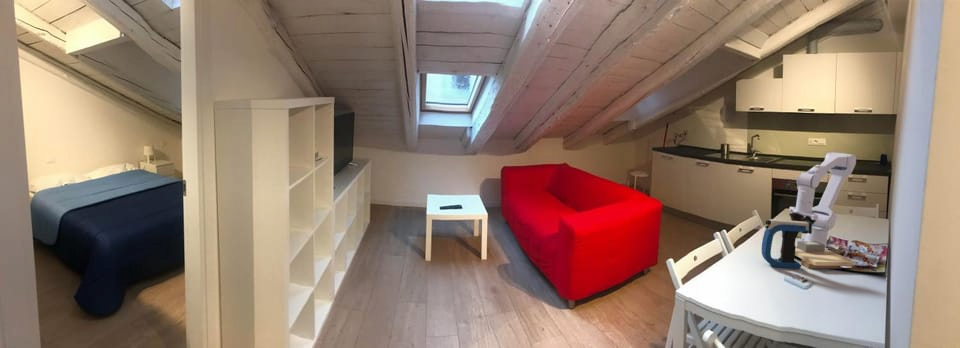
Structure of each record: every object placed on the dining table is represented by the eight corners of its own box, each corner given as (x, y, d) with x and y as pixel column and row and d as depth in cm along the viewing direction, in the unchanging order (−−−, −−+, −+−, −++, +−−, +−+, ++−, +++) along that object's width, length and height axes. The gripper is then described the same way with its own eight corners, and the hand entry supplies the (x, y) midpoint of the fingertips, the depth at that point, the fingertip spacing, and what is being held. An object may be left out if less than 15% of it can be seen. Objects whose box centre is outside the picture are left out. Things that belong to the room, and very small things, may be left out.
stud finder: (796, 247, 195) (797, 240, 194) (815, 248, 195) (816, 240, 194) (805, 252, 190) (806, 244, 189) (824, 252, 190) (825, 244, 189)
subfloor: (777, 252, 199) (779, 244, 198) (818, 252, 199) (819, 244, 199) (811, 270, 179) (813, 261, 179) (856, 270, 180) (858, 262, 179)
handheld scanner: (807, 270, 179) (814, 222, 176) (763, 266, 182) (768, 220, 179) (802, 266, 183) (808, 219, 180) (758, 263, 186) (764, 217, 183)
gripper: (784, 197, 203) (780, 226, 205) (808, 205, 188) (803, 236, 191) (799, 197, 203) (795, 226, 205) (824, 205, 188) (820, 236, 191)
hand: (800, 231), depth 198 cm, fingers open, 5 cm apart
